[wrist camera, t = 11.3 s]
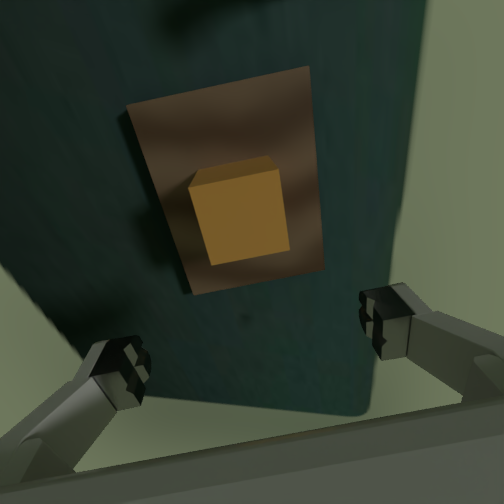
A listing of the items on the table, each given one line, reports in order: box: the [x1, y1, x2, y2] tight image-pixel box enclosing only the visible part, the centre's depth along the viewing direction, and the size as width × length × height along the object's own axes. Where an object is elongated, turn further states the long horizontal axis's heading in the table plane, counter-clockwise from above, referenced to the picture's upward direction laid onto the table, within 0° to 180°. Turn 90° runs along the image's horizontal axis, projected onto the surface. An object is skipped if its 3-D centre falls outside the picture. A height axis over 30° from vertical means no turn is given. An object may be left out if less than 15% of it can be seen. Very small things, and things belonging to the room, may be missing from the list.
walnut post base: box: [126, 66, 325, 295], centre depth 24 cm, size 18×14×6 cm
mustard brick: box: [188, 155, 290, 266], centre depth 22 cm, size 6×6×6 cm
